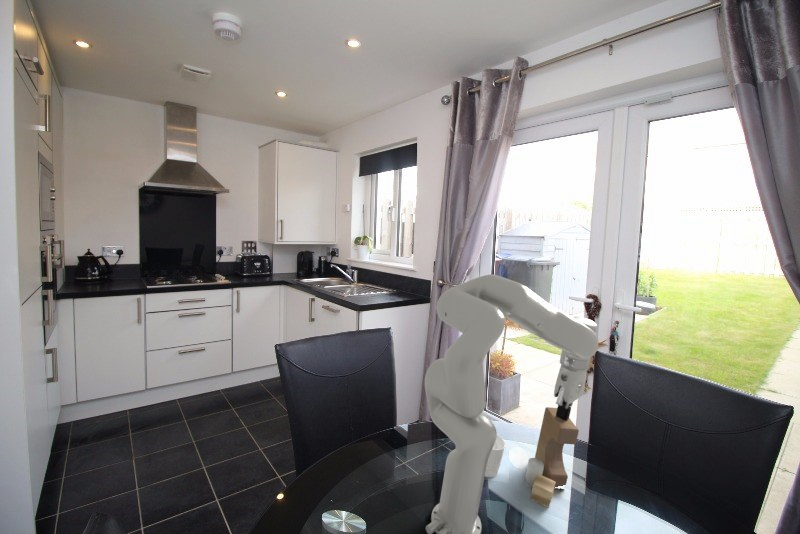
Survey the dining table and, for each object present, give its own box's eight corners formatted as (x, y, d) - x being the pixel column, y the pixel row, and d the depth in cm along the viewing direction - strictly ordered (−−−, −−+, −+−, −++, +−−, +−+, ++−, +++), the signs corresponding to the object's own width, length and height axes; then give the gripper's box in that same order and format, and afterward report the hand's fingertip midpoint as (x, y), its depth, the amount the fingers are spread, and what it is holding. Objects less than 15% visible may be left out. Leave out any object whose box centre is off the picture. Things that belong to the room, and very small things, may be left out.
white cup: (468, 462, 121) (473, 434, 119) (489, 458, 124) (494, 430, 122) (483, 481, 114) (488, 451, 112) (505, 476, 117) (510, 447, 115)
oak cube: (548, 508, 107) (552, 492, 106) (530, 498, 110) (533, 483, 109) (552, 496, 111) (555, 481, 110) (534, 488, 114) (537, 473, 113)
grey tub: (535, 488, 114) (539, 470, 112) (522, 479, 117) (525, 461, 116) (543, 481, 117) (546, 464, 115) (529, 472, 120) (533, 455, 119)
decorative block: (565, 490, 114) (579, 430, 110) (546, 489, 114) (560, 428, 110) (550, 463, 125) (563, 407, 121) (533, 462, 125) (545, 406, 120)
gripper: (576, 373, 103) (562, 433, 108) (598, 359, 113) (585, 415, 118) (549, 361, 109) (537, 419, 113) (573, 349, 119) (561, 403, 123)
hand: (562, 417), depth 115 cm, fingers closed
